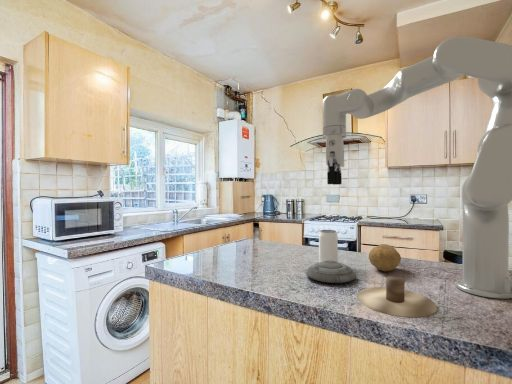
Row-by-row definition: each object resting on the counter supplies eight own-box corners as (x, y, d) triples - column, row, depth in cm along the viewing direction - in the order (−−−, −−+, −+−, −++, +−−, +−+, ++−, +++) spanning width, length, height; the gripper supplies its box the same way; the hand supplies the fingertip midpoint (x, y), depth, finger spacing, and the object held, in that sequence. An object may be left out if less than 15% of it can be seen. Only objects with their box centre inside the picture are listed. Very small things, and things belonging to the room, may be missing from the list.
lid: (440, 300, 71) (440, 276, 71) (431, 326, 58) (431, 298, 58) (369, 285, 82) (369, 265, 82) (347, 305, 68) (347, 281, 68)
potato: (365, 273, 92) (365, 248, 92) (371, 263, 104) (371, 241, 104) (399, 278, 87) (399, 252, 87) (401, 267, 99) (401, 244, 99)
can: (339, 266, 100) (339, 232, 100) (321, 266, 100) (320, 232, 100) (335, 261, 107) (334, 229, 107) (317, 261, 107) (317, 229, 107)
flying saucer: (310, 287, 81) (310, 267, 81) (302, 271, 96) (302, 255, 96) (364, 286, 81) (364, 267, 81) (347, 271, 96) (347, 254, 96)
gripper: (342, 127, 88) (343, 183, 88) (348, 136, 104) (348, 184, 104) (318, 129, 91) (318, 184, 91) (327, 138, 107) (327, 184, 107)
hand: (334, 184), depth 97 cm, fingers open, 9 cm apart
